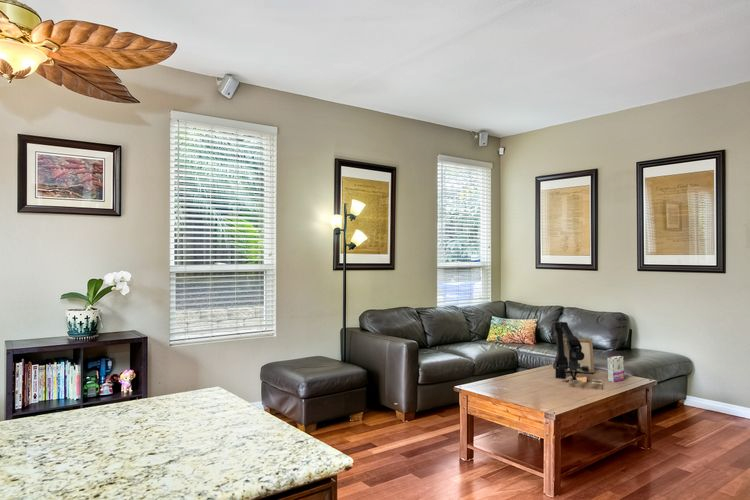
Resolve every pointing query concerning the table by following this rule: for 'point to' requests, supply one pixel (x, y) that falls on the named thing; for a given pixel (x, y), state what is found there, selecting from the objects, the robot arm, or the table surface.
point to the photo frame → (586, 349)
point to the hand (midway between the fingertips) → (573, 380)
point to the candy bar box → (615, 368)
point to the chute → (586, 383)
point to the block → (582, 378)
